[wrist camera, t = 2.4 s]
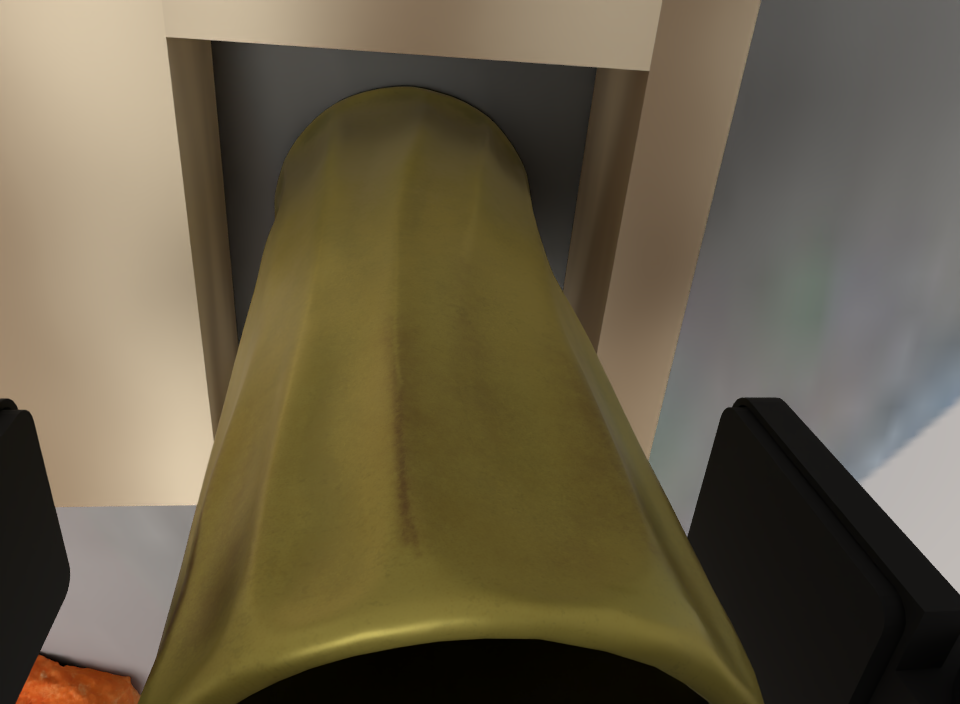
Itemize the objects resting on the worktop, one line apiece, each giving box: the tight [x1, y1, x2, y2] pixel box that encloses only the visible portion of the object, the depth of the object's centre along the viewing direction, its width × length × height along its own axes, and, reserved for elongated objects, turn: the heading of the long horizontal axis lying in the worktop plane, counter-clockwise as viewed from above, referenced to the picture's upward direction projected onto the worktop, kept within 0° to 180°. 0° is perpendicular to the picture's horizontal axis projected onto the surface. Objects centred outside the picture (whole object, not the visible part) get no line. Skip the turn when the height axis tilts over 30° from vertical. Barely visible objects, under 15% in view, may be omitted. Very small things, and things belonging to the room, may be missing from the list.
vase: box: [138, 87, 764, 704], centre depth 12 cm, size 6×6×14 cm
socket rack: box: [0, 0, 761, 507], centre depth 15 cm, size 28×12×4 cm, turn 85°
